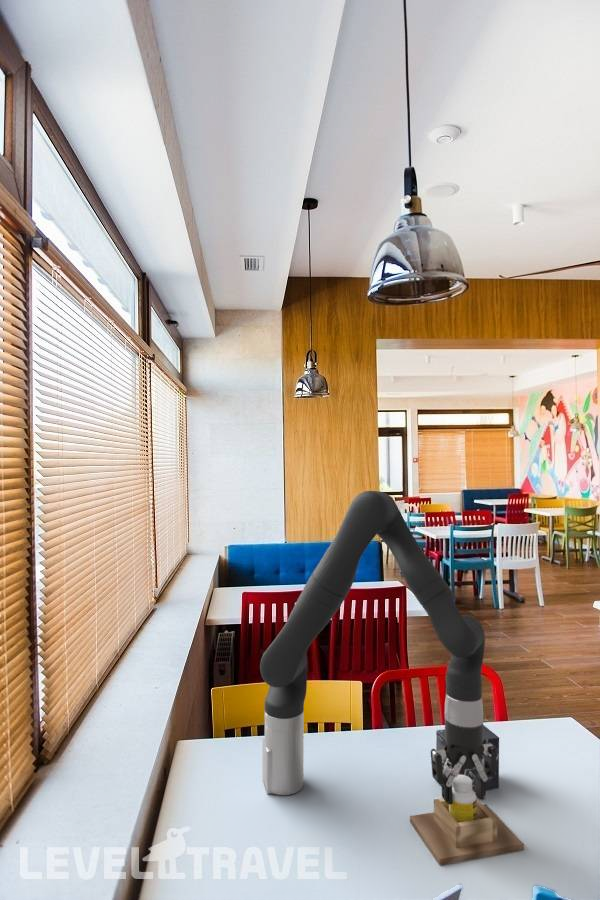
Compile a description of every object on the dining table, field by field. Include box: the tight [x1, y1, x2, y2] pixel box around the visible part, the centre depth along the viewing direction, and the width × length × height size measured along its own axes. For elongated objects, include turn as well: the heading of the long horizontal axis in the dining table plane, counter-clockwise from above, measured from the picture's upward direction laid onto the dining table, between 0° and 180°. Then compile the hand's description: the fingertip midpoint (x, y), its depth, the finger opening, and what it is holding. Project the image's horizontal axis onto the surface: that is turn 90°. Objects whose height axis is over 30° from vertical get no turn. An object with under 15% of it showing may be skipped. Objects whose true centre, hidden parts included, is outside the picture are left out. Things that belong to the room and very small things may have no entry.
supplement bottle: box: [449, 775, 477, 823], centre depth 112 cm, size 5×5×10 cm
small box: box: [435, 724, 500, 792], centre depth 130 cm, size 13×7×12 cm, turn 105°
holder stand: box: [409, 797, 525, 866], centre depth 112 cm, size 18×13×5 cm
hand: (464, 799), depth 112 cm, fingers open, 6 cm apart
